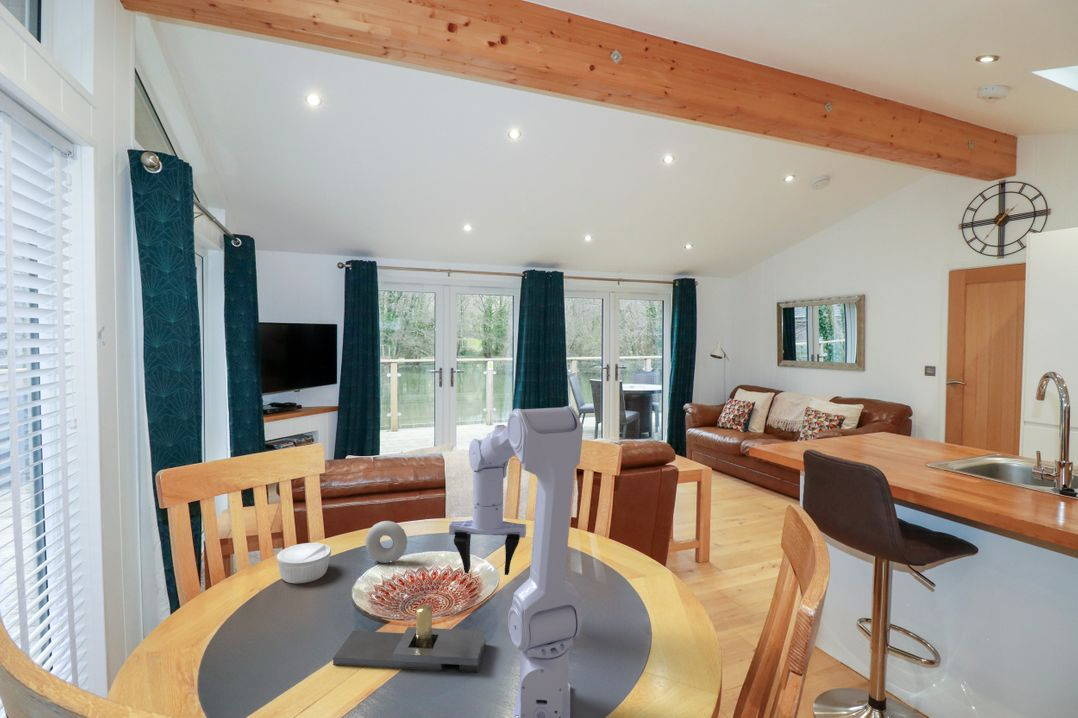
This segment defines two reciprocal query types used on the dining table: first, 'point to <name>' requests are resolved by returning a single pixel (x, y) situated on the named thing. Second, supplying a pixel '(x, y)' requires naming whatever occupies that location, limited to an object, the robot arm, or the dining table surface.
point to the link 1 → (376, 651)
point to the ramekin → (303, 562)
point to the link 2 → (445, 648)
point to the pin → (424, 627)
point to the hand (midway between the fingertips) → (487, 571)
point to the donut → (378, 550)
